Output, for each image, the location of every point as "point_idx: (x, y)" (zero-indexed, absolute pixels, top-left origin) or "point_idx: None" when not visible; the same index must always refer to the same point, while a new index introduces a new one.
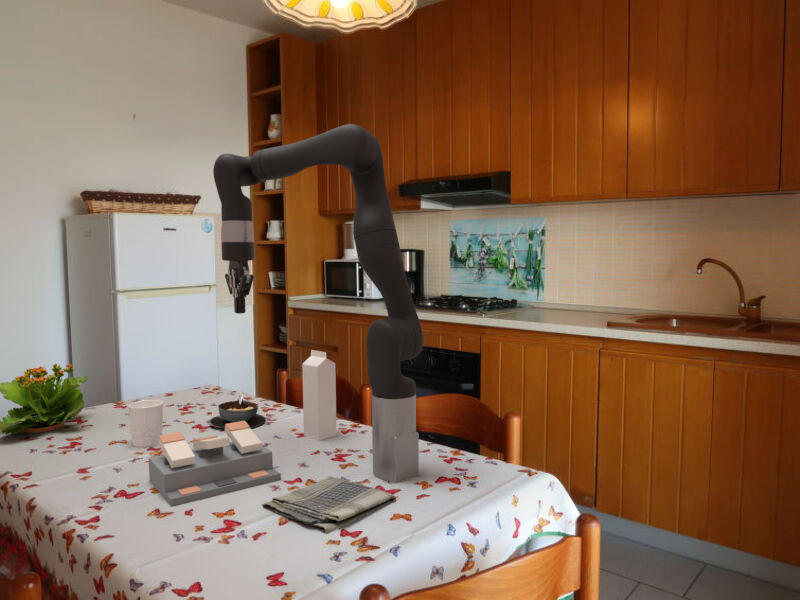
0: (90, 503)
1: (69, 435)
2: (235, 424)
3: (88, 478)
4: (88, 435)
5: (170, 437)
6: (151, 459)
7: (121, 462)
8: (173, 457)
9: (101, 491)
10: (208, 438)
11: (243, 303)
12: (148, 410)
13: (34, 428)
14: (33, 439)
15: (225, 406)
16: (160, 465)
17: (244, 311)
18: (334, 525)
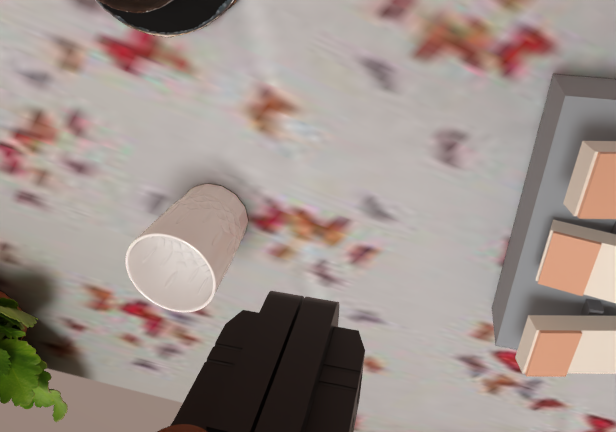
0: (517, 403)
1: (70, 298)
2: (603, 191)
3: (379, 364)
4: (86, 275)
5: (553, 358)
6: (513, 346)
7: (323, 298)
8: None
9: (471, 374)
10: (593, 267)
11: (352, 416)
12: (218, 279)
13: (21, 339)
14: (70, 344)
15: None
16: None
17: (335, 314)
18: None
